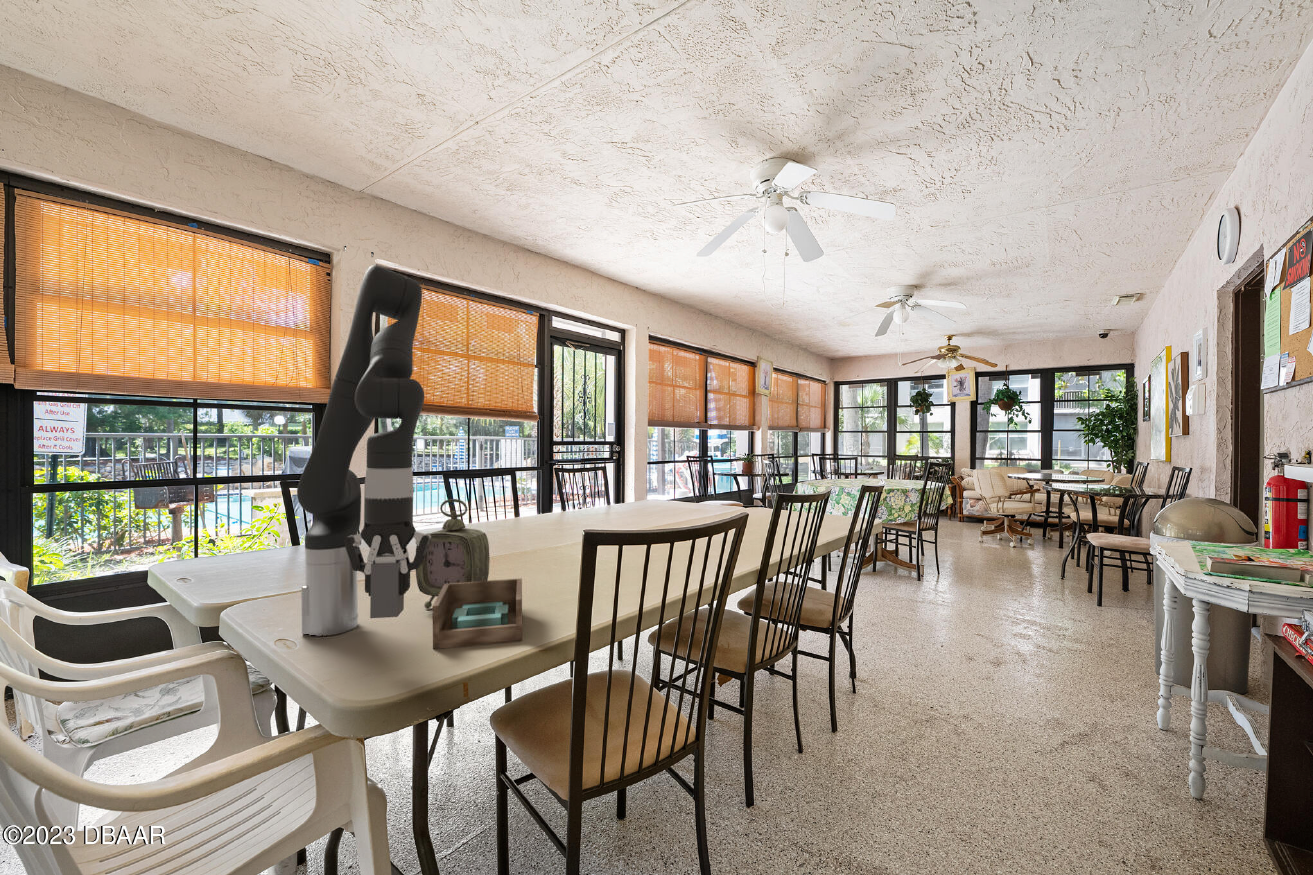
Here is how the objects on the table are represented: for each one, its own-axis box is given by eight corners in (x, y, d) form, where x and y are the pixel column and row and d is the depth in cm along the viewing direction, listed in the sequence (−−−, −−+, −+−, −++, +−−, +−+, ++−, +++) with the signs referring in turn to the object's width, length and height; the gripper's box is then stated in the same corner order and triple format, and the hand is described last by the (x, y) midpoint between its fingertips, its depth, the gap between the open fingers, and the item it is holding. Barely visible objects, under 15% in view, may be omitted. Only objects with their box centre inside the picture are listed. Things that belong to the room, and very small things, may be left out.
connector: (370, 618, 91) (371, 558, 91) (377, 610, 95) (378, 552, 96) (397, 616, 92) (398, 557, 92) (403, 609, 96) (404, 552, 96)
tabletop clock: (415, 610, 125) (414, 500, 124) (440, 599, 133) (439, 496, 133) (472, 615, 121) (471, 501, 121) (494, 602, 130) (492, 497, 130)
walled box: (432, 649, 102) (432, 606, 102) (445, 620, 117) (444, 583, 117) (521, 640, 105) (521, 599, 105) (522, 614, 121) (521, 578, 121)
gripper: (335, 497, 89) (333, 603, 89) (428, 496, 92) (427, 599, 92) (351, 492, 96) (350, 590, 96) (437, 491, 99) (436, 587, 99)
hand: (387, 594), depth 94 cm, fingers closed on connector, 4 cm apart
